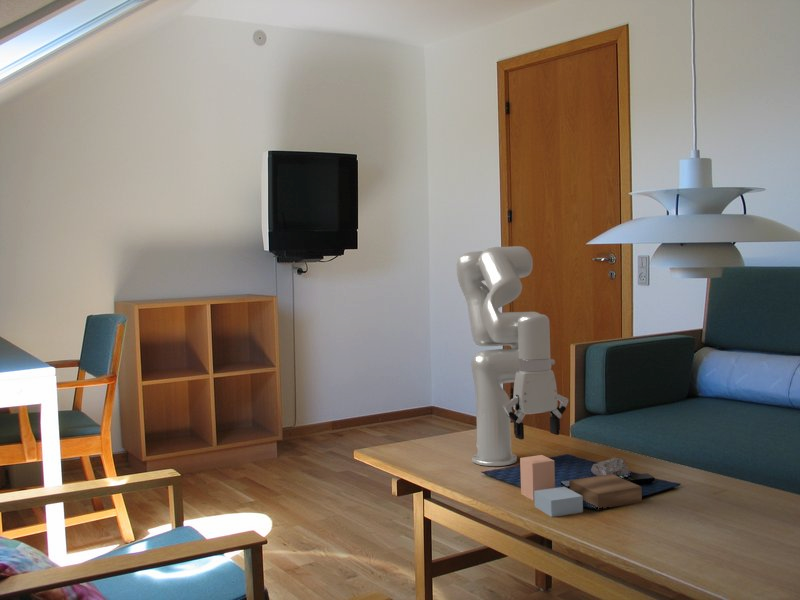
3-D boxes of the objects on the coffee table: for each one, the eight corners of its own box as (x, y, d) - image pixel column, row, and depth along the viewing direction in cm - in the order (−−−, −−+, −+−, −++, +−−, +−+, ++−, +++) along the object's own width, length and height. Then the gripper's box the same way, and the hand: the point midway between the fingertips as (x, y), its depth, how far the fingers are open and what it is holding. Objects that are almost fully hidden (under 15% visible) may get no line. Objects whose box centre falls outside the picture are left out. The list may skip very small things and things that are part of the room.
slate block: (534, 507, 188) (534, 490, 188) (565, 503, 191) (564, 486, 190) (551, 518, 181) (551, 500, 180) (582, 513, 183) (582, 496, 183)
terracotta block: (521, 493, 198) (520, 457, 197) (542, 490, 200) (541, 454, 199) (533, 500, 192) (532, 463, 192) (555, 497, 194) (554, 460, 194)
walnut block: (569, 496, 196) (569, 480, 196) (611, 489, 200) (611, 473, 200) (598, 511, 185) (597, 493, 184) (641, 503, 189) (641, 486, 188)
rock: (609, 482, 205) (609, 467, 205) (585, 472, 215) (585, 457, 215) (638, 478, 208) (638, 462, 208) (613, 468, 218) (613, 453, 218)
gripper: (557, 361, 200) (560, 429, 201) (495, 367, 195) (498, 437, 195) (574, 364, 193) (576, 435, 194) (510, 370, 187) (512, 443, 188)
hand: (537, 436), depth 195 cm, fingers open, 9 cm apart
